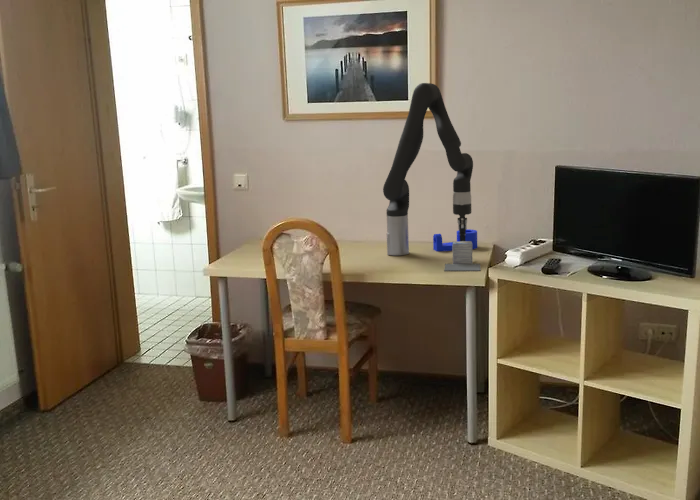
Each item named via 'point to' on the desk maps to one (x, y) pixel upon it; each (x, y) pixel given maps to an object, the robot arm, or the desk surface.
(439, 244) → the bracket
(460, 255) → the medicine box
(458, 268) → the mat
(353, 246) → the desk surface
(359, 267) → the desk surface
